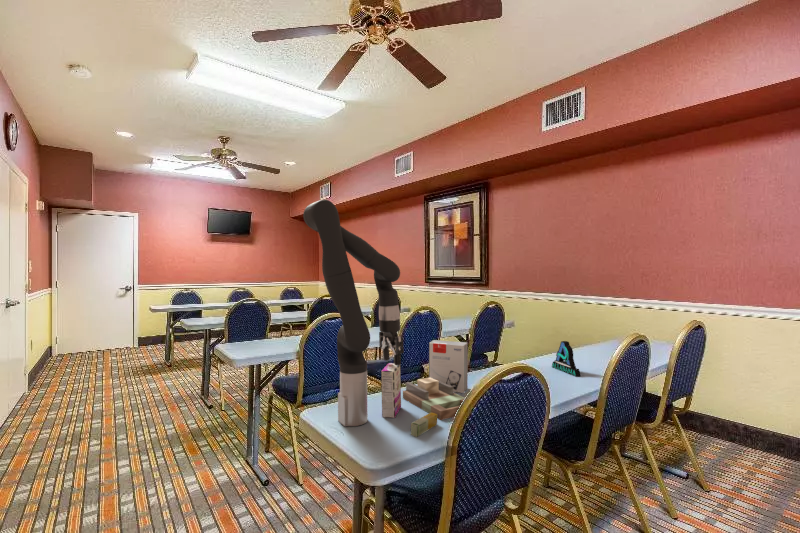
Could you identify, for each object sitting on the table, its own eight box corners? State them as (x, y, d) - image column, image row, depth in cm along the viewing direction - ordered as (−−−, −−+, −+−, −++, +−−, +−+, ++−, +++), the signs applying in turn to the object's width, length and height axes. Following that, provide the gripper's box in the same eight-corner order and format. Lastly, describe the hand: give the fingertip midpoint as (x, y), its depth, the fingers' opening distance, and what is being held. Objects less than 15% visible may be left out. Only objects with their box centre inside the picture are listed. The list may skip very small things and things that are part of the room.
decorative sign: (551, 367, 206) (551, 338, 206) (555, 367, 207) (555, 338, 207) (576, 377, 188) (575, 345, 188) (580, 376, 188) (580, 345, 188)
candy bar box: (388, 406, 150) (387, 362, 150) (401, 407, 149) (401, 363, 149) (380, 417, 139) (380, 370, 139) (395, 418, 138) (394, 371, 138)
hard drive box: (428, 389, 171) (427, 342, 171) (433, 384, 178) (433, 339, 178) (464, 393, 165) (463, 345, 165) (468, 388, 172) (467, 341, 172)
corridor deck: (440, 420, 136) (440, 402, 136) (402, 398, 159) (402, 383, 159) (477, 411, 144) (477, 394, 144) (436, 392, 167) (436, 377, 167)
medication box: (417, 437, 123) (417, 424, 123) (410, 435, 125) (410, 422, 124) (437, 425, 133) (437, 413, 133) (430, 423, 134) (430, 411, 134)
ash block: (425, 395, 154) (425, 383, 154) (417, 390, 159) (417, 379, 159) (438, 392, 157) (438, 381, 157) (430, 388, 162) (430, 377, 162)
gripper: (371, 317, 149) (374, 360, 149) (389, 321, 136) (392, 368, 137) (389, 314, 152) (391, 356, 153) (408, 318, 140) (410, 364, 140)
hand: (392, 362), depth 145 cm, fingers open, 8 cm apart
